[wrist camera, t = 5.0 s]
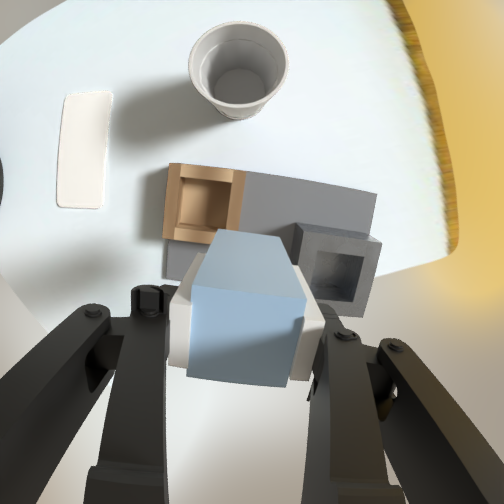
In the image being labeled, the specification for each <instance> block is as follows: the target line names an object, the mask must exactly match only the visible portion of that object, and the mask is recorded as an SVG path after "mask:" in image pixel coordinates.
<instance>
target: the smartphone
mask: <svg viewBox="0 0 504 504" xmlns="http://www.w3.org/2000/svg"><path fill="white" fill-rule="evenodd" d="M111 104H112V93H111V92H110V91H96V92H86V93H77V94H70V95H68V96H67V97H66V99H65V102H64V108H63V116H62V124H61V133H60V143H59V156H58V174H57V203H58V205H59V206H60V207H71V208H92V209H98V208H101V207H102V206H103V204H104V187H105V172H106V152H107V140H108V130H109V121H110V112H111Z"/></svg>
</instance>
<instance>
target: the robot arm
mask: <svg viewBox="0 0 504 504" xmlns="http://www.w3.org/2000/svg"><path fill="white" fill-rule="evenodd" d="M2 194H3V169H2V163H1V159H0V204H1V200H2ZM205 255H206V254H205V253H197V255H196V257H195V259H194V260H193V262H192V264H191V266H190V267H189V269H188V271H187V273H186V274H185V276H184V278H183V280H182V282H181V283H180V285H179V286H173V285H166V284H164V285H162V286H160V287H159V286H155V285H140V286H136V287H134V288H133V289H132V290H131V314H130V317H111V316H110V310H109V309H108V308H107V307H106V306H103V305H100V304H95V303H92V304H87V305H83V306H81V307H79V308H78V309H77V310H75V311H74V312H73V313H72V314H71V315H70V316H68V317H67V318H66V319H65V320H64V321H63V322H61V323H60V324H59V325H58V326H57V327H56V328H55V329H54V330H52V331H51V332H50V333H49V334H48V335H47V336H46V337H45V338H43V339H42V340H41V341H40V342H39V343H38V344H37V345H36V346H35V347H34V348H32V349H31V350H30V351H29V352H28V353H27V354H26V355H25V356H24V357H23V358H22V359H21V360H20V361H19V362H17V364H15V365H14V366H13V367H12V368H11V369H10V370H9V371H8V372H7V373H6V374H5V375H4V376H3V377H2V378H1V379H0V504H36V502H37V501H38V499H39V497H40V495H41V493H42V492H43V490H44V488H45V486H46V485H47V483H48V481H49V479H50V478H51V476H52V474H53V472H54V471H55V469H56V467H57V465H58V464H59V462H60V460H61V458H62V457H63V455H64V454H65V452H66V450H67V448H68V447H69V445H70V443H71V442H72V440H73V438H74V437H75V435H76V433H77V432H78V430H79V429H80V427H81V425H82V423H83V422H84V421H85V419H86V417H87V416H88V414H89V412H90V411H91V409H92V408H93V406H94V404H95V403H96V401H97V400H98V398H99V396H100V395H101V393H102V392H103V390H104V389H105V387H106V386H107V384H108V383H109V381H110V379H111V378H112V376H113V375H114V372H115V375H114V380H113V384H112V389H111V393H110V398H109V402H108V407H107V412H106V417H105V422H104V428H103V433H102V439H101V445H100V451H99V457H98V462H97V465H96V466H91V468H90V469H89V471H88V475H87V480H86V487H85V494H84V502H83V504H169V495H168V478H167V458H166V360H167V358H168V365H169V366H175V367H180V368H186V369H188V365H189V349H190V332H191V317H192V303H193V302H191V289H192V283H193V281H194V279H195V277H196V275H197V273H198V270H199V268H200V266H201V264H202V262H203V260H204V258H205ZM292 266H293V268H294V270H295V273H296V275H297V277H298V279H299V282H300V284H301V286H302V289H303V291H304V293H305V296H306V298H307V302H306V307H305V311H304V316H303V320H302V324H301V328H300V333H299V337H298V341H297V345H296V349H295V353H294V357H293V361H292V365H291V369H290V373H289V377H290V380H298V381H309V378H310V375H311V371H313V374H314V379H313V382H312V385H311V389H310V392H309V395H308V398H307V401H310V414H309V427H308V440H307V453H306V463H305V473H304V483H303V492H302V501H301V504H406V502H405V496H406V498H407V500H408V502H409V504H504V464H503V462H502V461H501V460H500V458H499V457H498V455H497V454H496V453H495V451H494V450H493V449H492V447H491V446H490V445H489V443H488V442H487V441H486V439H485V438H484V437H483V435H482V434H481V433H480V432H479V430H478V429H477V428H476V427H475V425H474V424H473V423H472V421H471V420H470V419H469V418H468V416H467V415H466V414H465V412H464V411H463V410H462V409H461V408H460V406H459V405H458V404H457V402H456V401H455V400H454V399H453V398H452V396H451V395H450V394H449V393H448V392H447V390H446V389H445V388H444V387H443V385H442V384H441V383H440V382H439V381H438V379H437V378H436V377H435V376H434V375H433V373H432V372H431V371H430V370H429V369H428V367H427V366H426V365H425V364H424V363H423V362H422V360H421V359H420V358H419V357H418V356H417V355H416V353H415V352H414V351H413V350H412V349H411V348H410V347H409V346H408V345H407V344H406V343H404V342H402V341H401V340H399V339H398V340H397V339H395V338H393V339H391V338H386V339H383V340H381V342H380V345H379V347H378V348H376V347H371V346H367V345H364V344H362V343H361V339H360V337H359V335H358V334H357V333H355V332H354V331H351V330H349V329H346V328H344V326H343V325H342V322H341V321H340V320H339V317H338V315H337V314H336V312H335V310H334V309H333V308H332V307H330V306H329V305H328V304H323V303H316V301H315V299H314V297H313V295H312V293H311V290H310V288H309V286H308V284H307V282H306V280H305V278H304V276H303V274H302V272H301V270H300V268H299V266H296V265H292ZM115 370H116V371H115ZM396 387H397V397H396V396H395V395H394V393H393V392H394V390H395V388H396ZM383 448H384V449H383ZM384 450H385V453H386V455H387V457H388V459H389V461H390V463H391V465H392V467H393V470H394V471H395V474H396V476H397V478H398V480H399V482H400V485H401V487H402V488H401V487H400V486H399V485H390V484H389V481H388V475H387V468H386V462H385V455H384ZM402 489H403V490H402ZM403 491H404V493H405V496H404V493H403Z"/></svg>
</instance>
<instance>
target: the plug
mask: <svg viewBox="0 0 504 504" xmlns="http://www.w3.org/2000/svg"><path fill="white" fill-rule="evenodd" d="M191 302H193V303H192V317H191V332H190V349H189V365H188V369H187V374H186V376H187V377H193V378H199V379H206V380H213V381H221V382H229V383H238V384H248V385H258V386H270V387H284V388H285V387H286V384H287V380H288V377H289V373H290V369H291V365H292V361H293V357H294V353H295V349H296V345H297V341H298V337H299V333H300V328H301V324H302V320H303V316H304V311H305V307H306V302H307V298H306V296H305V293H304V291H303V289H302V286H301V284H300V282H299V279H298V277H297V275H296V273H295V270H294V268H293V266H292V264H291V261H290V259H289V257H288V255H287V252H286V250H285V248H284V246H283V243H282V241H281V239H280V237H276V236H269V235H262V234H255V233H247V232H240V231H232V230H225V229H218V230H217V232H216V234H215V237H214V239H213V241H212V243H211V245H210V247H209V249H208V251H207V253H206V255H205V258H204V260H203V262H202V264H201V266H200V268H199V270H198V273H197V275H196V277H195V279H194V281H193V283H192V289H191Z"/></svg>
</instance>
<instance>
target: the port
mask: <svg viewBox="0 0 504 504" xmlns="http://www.w3.org/2000/svg"><path fill="white" fill-rule="evenodd" d="M381 247H382V243H381V242H380V241H378V240H377V239H375V238H373V237H372V236H370V235H368V234H367V233H362V232H356V231H350V230H344V229H338V228H331V227H325V226H318V225H312V224H305V223H298V222H296V224H295V230H294V235H293V241H292V247H291V252H290V258H289V259H290V261H291V264H292V265H296V266H299V268H300V270H301V272H302V274H303V276H304V278H305V280H306V282H307V284H308V286H309V288H310V290H311V293H312V295H313V297H314V299H315V301H316V303H323V304H328V305H329V306H330V307H332V308H333V309H334V310H335V312H336V314H337V315H338V316H348V317H362V318H363V315H364V311H365V308H366V305H367V301H368V298H369V294H370V291H371V287H372V283H373V279H374V276H375V272H376V268H377V264H378V259H379V255H380V251H381Z"/></svg>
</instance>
